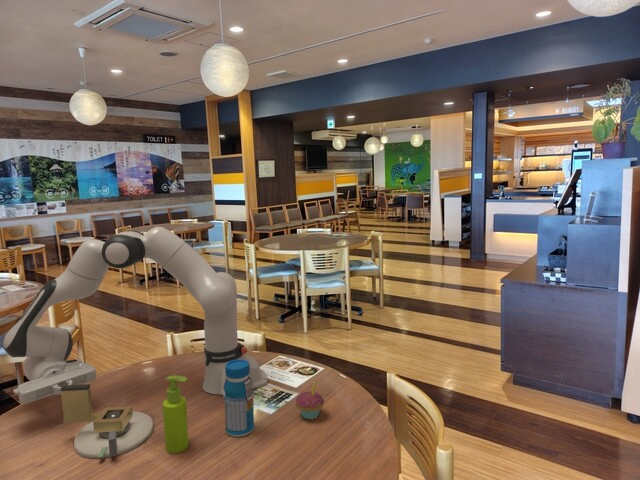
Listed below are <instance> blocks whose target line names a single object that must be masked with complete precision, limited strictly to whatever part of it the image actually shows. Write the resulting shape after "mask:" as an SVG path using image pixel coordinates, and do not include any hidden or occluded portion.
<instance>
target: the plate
mask: <svg viewBox="0 0 640 480" xmlns="http://www.w3.org/2000/svg"><path fill="white" fill-rule="evenodd" d="M132 411H133V410H132ZM153 430H154V423H153V419H152V418H151V416H149V415H148V414H146V413H144V412H141V411H133V417H132V418H131V420H130V429H129V431H128V432H127V433H126V434H124V435H122V436H120V437H117V438H116V430H115V431H110V432H109V439H103V438H101V437H100V436H99V433H94V426H93V422H88V424H86V425H85V426H83V427H81V429H80V430H79V431H78V432H77V434H76V435H75V437H74V440H73V444H74V450H75V452H76V453H77V454H78V455H79V456H80V457H84V458H87V459H106V458H107V459H108V458H112V457H116V456H120V455H122V454H125V453H128V452H130V451H133V450H134V449H136V448H137V447H139V446H140V445H142V444H143V443H145V442H146V441H147V440H148V439H149V437H151V435H152V433H153Z"/></svg>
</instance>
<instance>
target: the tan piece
mask: <svg viewBox="0 0 640 480" xmlns="http://www.w3.org/2000/svg"><path fill="white" fill-rule="evenodd" d="M60 395H61V402H62V403H61V404H62V413H63V418H62V420H63V424H71V423H72V424H74V423H76V424H77V423H91V422H93V426H94V433H99V432H110V431H115V430H116V432H119V431H123V430H124V429H125V427H126V426H127V424H128V423H129V421H130V420H131V418H132V417H133V406H130V405H129V406H113V407H112V406H111V407H104V408H103V410H101V412H99V413H93V405H92V394H91V384H90V383H85V384H82V385H64V386H63V387H62V388H61V394H60ZM112 411H120V414H121V415H120V417H119V418H116V419H106V415H107V414H108V413H109V412H112Z"/></svg>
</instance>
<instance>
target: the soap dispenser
mask: <svg viewBox="0 0 640 480" xmlns="http://www.w3.org/2000/svg"><path fill="white" fill-rule="evenodd" d="M187 380H189V378H188V377H185V376H182V375H169V376H168V377H166V378H165V381H166V382H169V387H168V388H167V389H166V396H167V398H166V399H164V400H163V401H162V412H163V413H162V414H163V426H164V428H163V429H164V441H165V442H164V443H165V445H164V446H165V450H166V452H167V453H169V454H178V453H181V452H184V451H185V450H186V449H188V447H189V429H188V427H189V426H188V416H187V415H188V411H187V399H186V397H184V396H182V395H181V387H180V386H178V385H177V384H178V383H177V382H179V383H183V384H184V383H185V382H186V381H187Z"/></svg>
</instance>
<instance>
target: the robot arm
mask: <svg viewBox="0 0 640 480" xmlns="http://www.w3.org/2000/svg"><path fill="white" fill-rule="evenodd" d="M146 258H147V259H150V260H152V261H154V262H155V263H156V264H157V265H158V266H159V267H161V268H162V269H164V270H165V271H166V272H167V273H168V274H170V275H171V276H172V277H174V278H175V279H176V280H177V281H178V282H179V283H180V284H181V285H182V286H183V287H184V288H185V289H186V290H187V291H188V292H189V294H190V295H191V296H192V297H193V299H195V300H196V301H197V302H198V303H199V305H200V307H201V308H202V309H203V311H204V319H203V320H204V321H203V323H204V324H203V329H204V347H203V348H204V349H203V360H204V365H205V369H204V376H203V377H204V379H203V382H202V387H201V388H202V390H203V391H204V392H206V393H208V394H210V395H211V394H212V395H220V396H223V397H224V393H225V391H224V384H225V381H226V379H227V377H226V372H225V366H226V364H227V363H228V362H229V361H232V360H236V359H243V360H247V361H248V362H249V365H250V373H249V377H250V379H251V380H252V383H253V388H252V390H255V389H257V388H260V387H263V386H266V385H267V384H268V382H269V381H268V375H267V374H266V373H265V371H264V370H263V369H262V368H261V366H260V364H259V362H258V361H257V360H256V359H255V358H254V357H253V356H251V355H249V354H247V353H248V349H247V347H245V346H244V345H243V343H241V342H239V340H238V305H237V304H238V298H237V297H238V296H237V295H238V292H237V290H238V289H237V283H236V280H235V279H234V277H233V276H232V275H231V274H230V273H228V272H224V271H219V272H217V271H215V270H214V268H213V267H212V266H211V265H210V264H209V262H207V260H206V258H205V257H204V256H203V255H201V254H200V253H199V252H198V251H196V250H195V248H193V247H192V246H191V245H190V244H188V242H186V241H185V240H183V238H181V237H179V236H178V235H177V234H175V233H174V232H172V231H170V230H168V229H167V228H166V227H164V226H163V227H162V226H155V227H152V228H151V229H149V230H148V231H147V232H146V233H145V234H144V233H143V232H140V231H138V230H128V231H121V232H119V233H116V234H114V235H112V236H110V237H108V238H107V239H106V240H105V241H103V240H100V239H94V238H93V239H91V238H90V239H86V240H84V241H83V242H82V243H81V244H80V245H79V247H78V248H77V250H76V251H75V252H74V254H73V255H72V257H71V259H70V261H69V262H68V264H67V267H66V268H65V270H63V272H62V273H61V274H60V275H59V276H57V277H56V278H55V279H51V280H48V281H47V282H46V283H44V285H43V286H42V287H41V288H40V290H39V291H38V292H37V293H36V295H35V296H34V298H33V299H32V301H31V302H30V303H29V304H28V306H27V308H26V309H25V310H24V311H23V313H22V314H21V316H20V317H19V318H18V320H16V322H15V323H14V324H13V325H12V326H11V327H10V328H9V329H8V331H7V332H6V333H5V336H4V338H3V340H2V341H3V342H2V348H3V350H4V351H5V353H6V354H7V355H9V356H10V357H11V358H25V359H24V360H23V362H22V369H23V373H24V375H25V377H26V378H27V379H28V380H29V381H26V382H22V383H21V384H20V385H18V387H16V388H14V389H13V391H12V392H13V394H14V395H16V396H18V398H19V402H20V403H21V404H22V405H27V404H30V403H33V402H35V401H38V400H42V399H44V398H45V399H46V398H47V397H50V396H53V395H61V388H62V387H63V386H64V385H84V384H89V383H90V382H94V381H95V380H96V379H97V377H98V376H97V370H96V368H95V367H94V366H93V365H92V364H89V363H87V362H83V361H82V359H81V358H75V359H70V360H68V359H69V357H70V355H71V353H72V351H73V345H74V339H73V337H72V335H71V332H70V331H69V329H67V328H62V327H61V328H60V327H51V326H49V327H48V326H39V325H37V324H38V323H39V322H40V320H41V319H42V318H43V316H44V314H45V313H46V312H47V311H48V310H49V308H50V307H52V306H53V305H57V304H60V303H62V302H68V301H73V300H74V301H75V300H76V301H77V300H83V299H85V298H88V297H90V296H92V295H93V294H95V293H96V292H97V290H98V289H99V288H100V286H101V284H102V282H103V280H104V278H105V276H106V273H107V272H108V270H109V269H110V267H111V268H114V269H127V268H129V267H132V266H133V265H137V264H138V263H139V262H141V261H142V260H143V259H146Z"/></svg>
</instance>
